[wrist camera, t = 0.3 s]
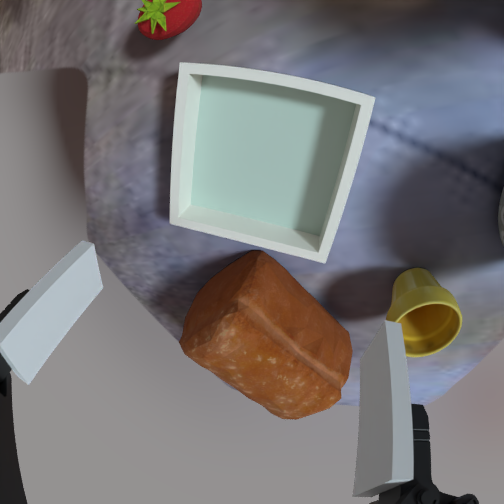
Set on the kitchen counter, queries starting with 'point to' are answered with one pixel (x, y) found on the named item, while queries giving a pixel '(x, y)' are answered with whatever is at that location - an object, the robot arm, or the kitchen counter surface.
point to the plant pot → (424, 313)
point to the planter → (501, 217)
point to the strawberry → (167, 17)
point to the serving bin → (264, 156)
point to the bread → (268, 338)
